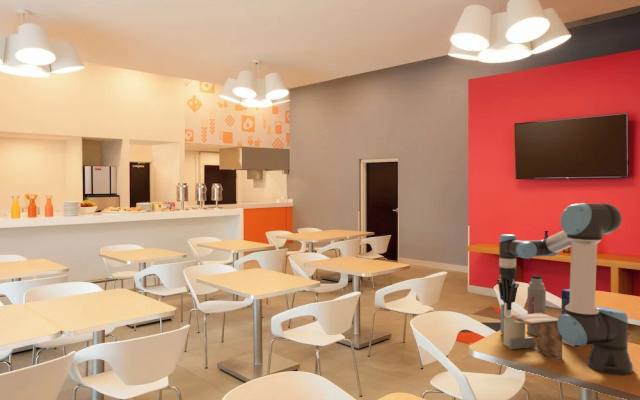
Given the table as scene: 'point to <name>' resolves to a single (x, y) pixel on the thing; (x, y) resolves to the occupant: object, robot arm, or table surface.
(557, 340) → the brown angular piece
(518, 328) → the can
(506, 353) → the table surface
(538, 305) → the thermos bottle
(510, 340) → the slider
